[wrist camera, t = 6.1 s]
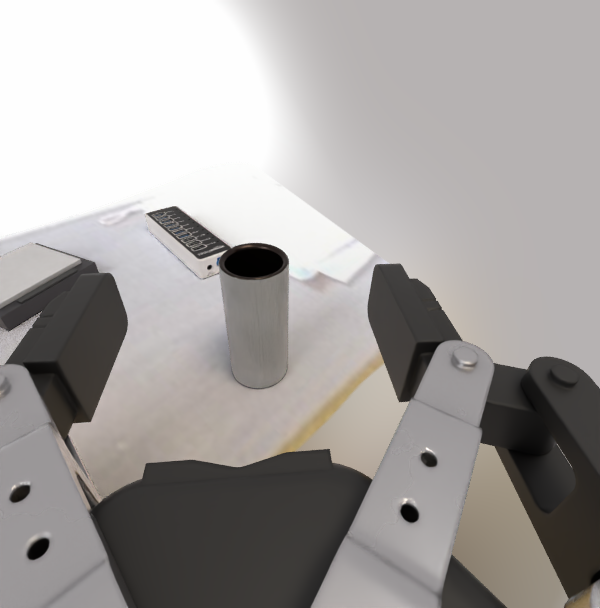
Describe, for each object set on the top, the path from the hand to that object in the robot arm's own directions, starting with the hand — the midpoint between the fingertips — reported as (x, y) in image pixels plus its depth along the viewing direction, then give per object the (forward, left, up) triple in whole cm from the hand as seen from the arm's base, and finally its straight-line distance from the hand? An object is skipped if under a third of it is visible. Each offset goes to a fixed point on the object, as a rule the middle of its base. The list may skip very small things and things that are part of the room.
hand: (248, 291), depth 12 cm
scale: (+9, +32, -16) cm, 37 cm away
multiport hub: (+23, +23, -16) cm, 36 cm away
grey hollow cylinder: (+10, +6, -16) cm, 20 cm away
